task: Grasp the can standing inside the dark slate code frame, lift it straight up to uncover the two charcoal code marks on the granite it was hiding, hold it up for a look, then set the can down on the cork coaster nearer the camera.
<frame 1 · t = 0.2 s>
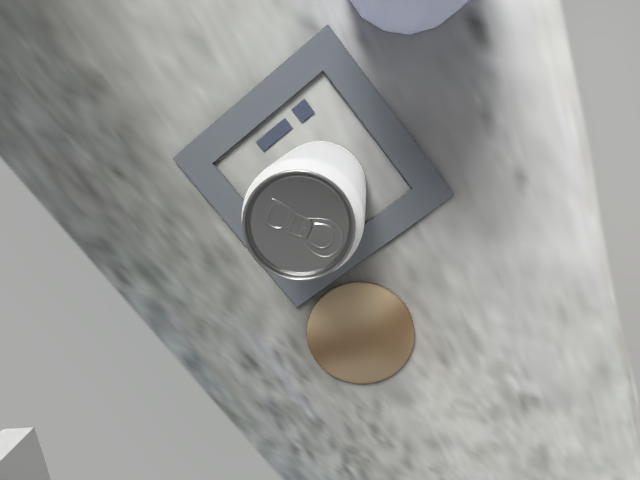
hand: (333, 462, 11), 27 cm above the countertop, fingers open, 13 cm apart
coaster: (360, 331, 40), on the countertop
can: (320, 186, 38), resting in code frame
code frame: (311, 175, 37), on the countertop
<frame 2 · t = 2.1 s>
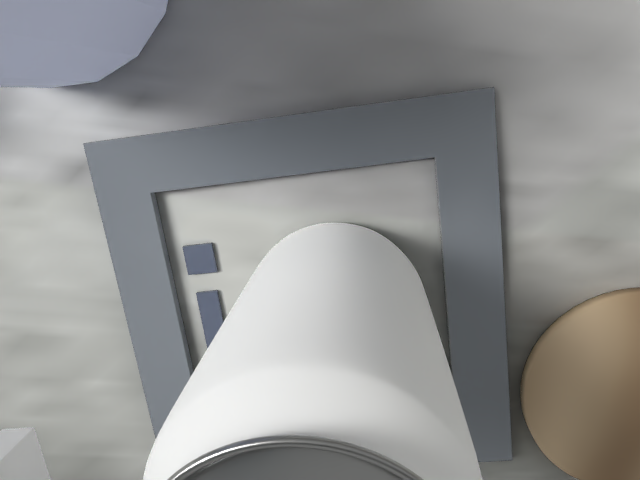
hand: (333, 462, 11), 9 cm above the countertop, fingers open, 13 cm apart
coaster: (630, 388, 20), on the countertop
can: (336, 301, 20), resting in code frame
code frame: (310, 305, 20), on the countertop
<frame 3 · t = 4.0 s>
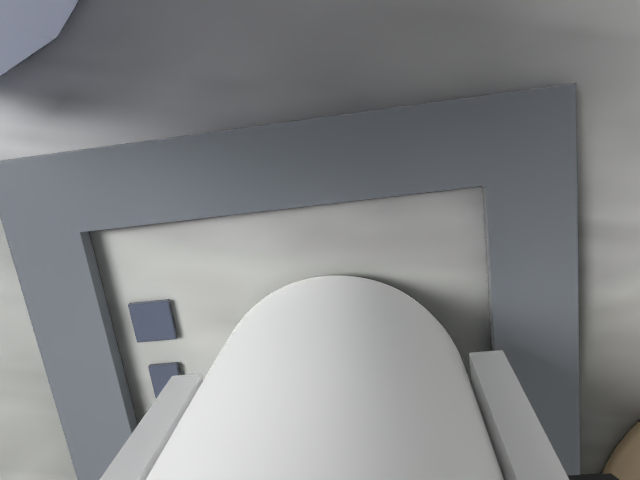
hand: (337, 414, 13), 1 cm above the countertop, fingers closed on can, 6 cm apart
can: (341, 378, 14), resting in code frame, touching gripper
code frame: (304, 385, 14), on the countertop
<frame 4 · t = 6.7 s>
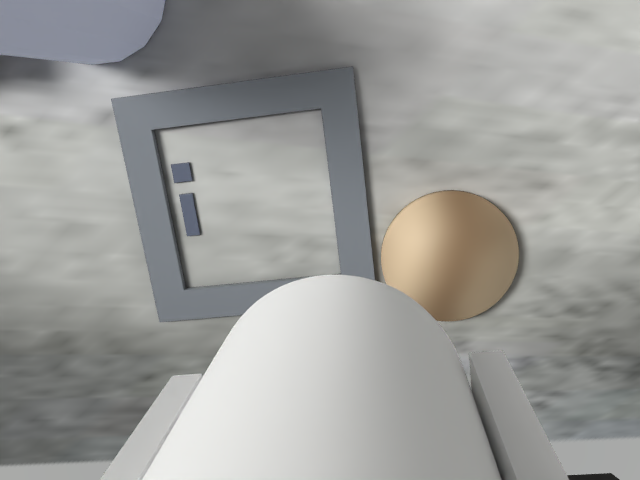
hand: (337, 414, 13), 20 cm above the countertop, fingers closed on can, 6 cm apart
coaster: (447, 255, 32), on the countertop
can: (339, 377, 14), point 18 cm above the countertop, touching gripper
code frame: (249, 203, 32), on the countertop
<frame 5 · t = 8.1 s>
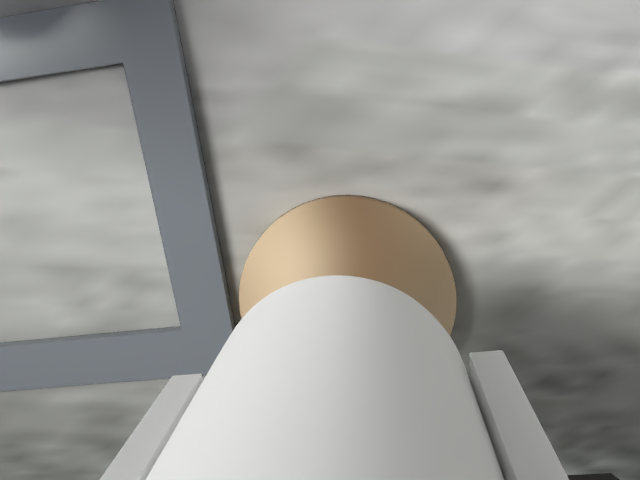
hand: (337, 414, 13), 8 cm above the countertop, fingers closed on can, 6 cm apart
coaster: (346, 298, 20), on the countertop
can: (341, 378, 14), point 6 cm above the countertop, touching gripper
code frame: (34, 217, 20), on the countertop
when the fingers open (3 cm above the countertop, at t = 9.4 s): can stays where it is, resting on coaster.
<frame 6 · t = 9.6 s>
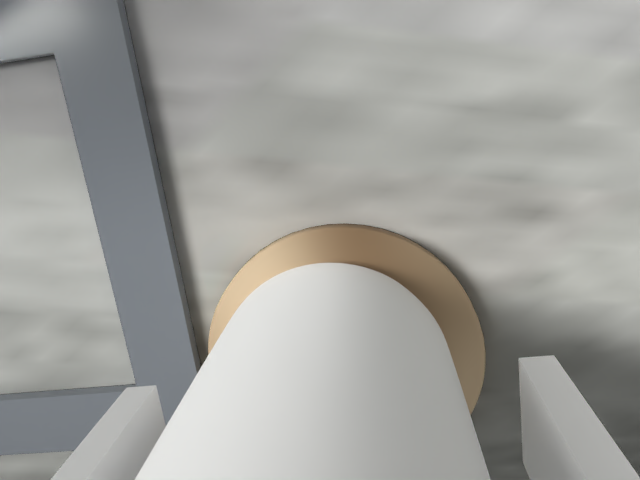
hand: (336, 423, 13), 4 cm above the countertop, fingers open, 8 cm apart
coaster: (344, 353, 16), on the countertop
can: (334, 359, 15), resting on coaster
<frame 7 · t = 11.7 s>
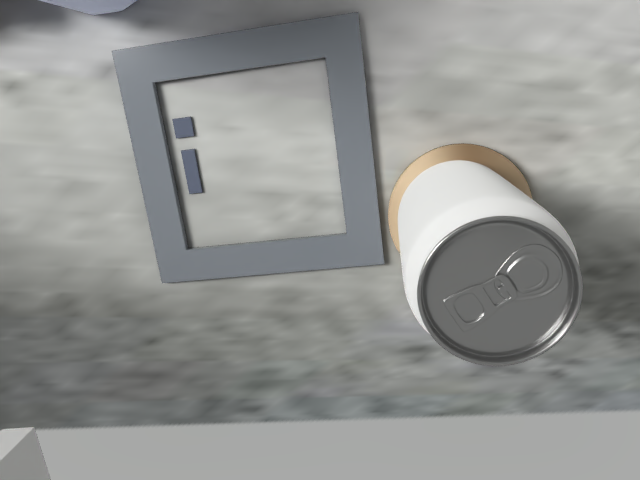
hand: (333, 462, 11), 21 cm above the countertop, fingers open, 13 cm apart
coaster: (458, 213, 31), on the countertop
can: (454, 215, 30), resting on coaster
code frame: (252, 159, 31), on the countertop
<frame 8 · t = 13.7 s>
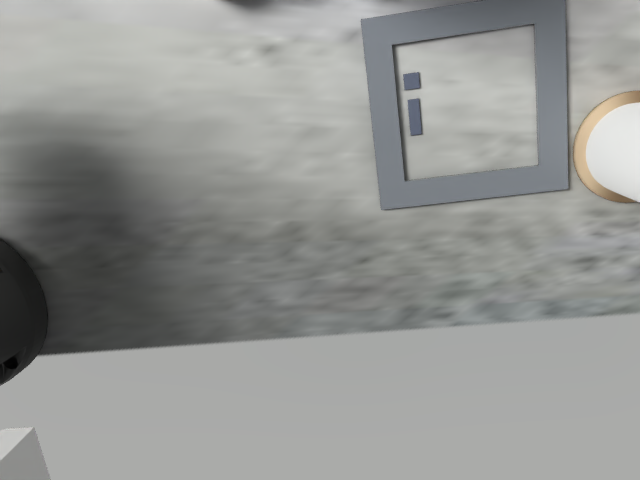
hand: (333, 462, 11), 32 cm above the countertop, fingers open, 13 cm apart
coaster: (629, 147, 39), on the countertop
can: (628, 147, 39), resting on coaster
code frame: (466, 106, 39), on the countertop
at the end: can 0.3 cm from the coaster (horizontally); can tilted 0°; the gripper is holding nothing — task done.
